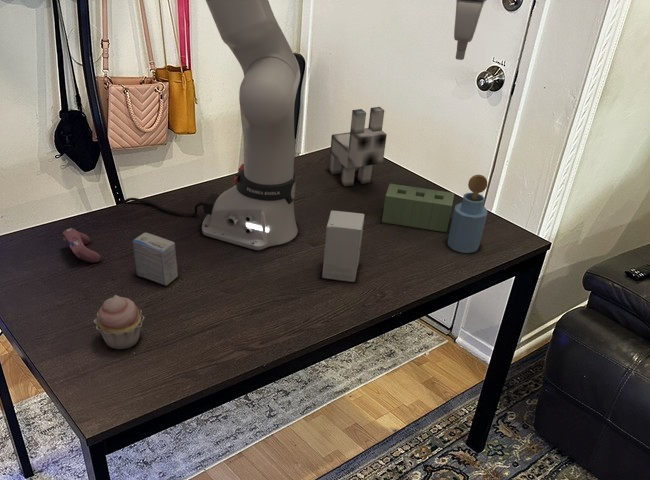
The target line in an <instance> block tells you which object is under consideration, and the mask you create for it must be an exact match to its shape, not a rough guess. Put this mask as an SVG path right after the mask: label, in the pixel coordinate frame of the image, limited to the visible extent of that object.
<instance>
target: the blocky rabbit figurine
mask: <svg viewBox="0 0 650 480" xmlns="http://www.w3.org/2000/svg"><path fill="white" fill-rule="evenodd" d="M351 111H352V112H351V119H350V128H349V129H350V131H348V132H343V133H333V134H331V139H330V151H329V162H328V164H329V165H328V172H330V174H331V175H339V174H340V184H341V185H343V187H351V186H354V183H355V176H356V174H355V173H356V172H358V173H357V181H358V182H359V183H360V184H369V183H371V179H372V171H373V166H374V165H380V164H384V157H385V150H386V142H387V135H388V133H386V132H384V131H383V125H384V117H385V109H384V108H382V107H381V106H374V107H370V111H369V117H368V118H369V119H368V126H367V127H365V126H366V119H367V112H366V110H364V109H362V108H359V109H352V110H351Z"/></svg>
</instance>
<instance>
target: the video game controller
mask: <svg viewBox="0 0 650 480" xmlns="http://www.w3.org/2000/svg"><path fill="white" fill-rule="evenodd" d="M62 235H63V241H64V243H66V244H67V243H69V248H70V249H71V252H72V253H73V254H74V255H75V256H76V257H77V258H78V259H80V260H81V261H82V260H83V261H86V262H89V263H98V262H100V261H101V255H100V254H99V253H98V252H97V251H94V250H91V248H88V247H87V246H85V245H88V244H89V243H90V242H91V240H90V239H91V238H90V237H89V236H88V235H87V234H85V233H84V232H80V231H78V230H77V229H75V228H72V227H70V228H67V229H65V230H64V231H62Z"/></svg>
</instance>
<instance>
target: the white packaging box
mask: <svg viewBox="0 0 650 480" xmlns="http://www.w3.org/2000/svg"><path fill="white" fill-rule="evenodd" d="M329 213H330V214H329V217H328V221H327V224H326V229H325V241H324V250H323V251H324V252H323V265H322V274H321V278H322V279H327V280H335V281H343V282H350V283H355V282H356V278H357V273H358V268H359V267H358V266H359V263H360V255H361V248H362V239H363V231H364V224H365V215H366V214H365V213H360V212H359V213H358V212H351V211H341V210H333V209H332V210H330V212H329Z"/></svg>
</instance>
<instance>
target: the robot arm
mask: <svg viewBox="0 0 650 480" xmlns="http://www.w3.org/2000/svg"><path fill="white" fill-rule="evenodd" d="M486 1H487V0H456V2H455V4H456V5H455V17H454V27H453V39H454V41H457V43H456V52H455V59H456V60H457V61H463V60H464V59H465V55H466V50H467V47H468V44H469V43H470V42H472V41H473V39H474V36H475V33H476V29H477V27H478V23H479V19H480V16H481V14H482V10H483V7H484V5H485V3H486ZM205 2H206V4H207V7H208V10H209V12H210V14H211V17H212V19H213V21H214V24H215V26H216V28H217V31H218V33H219V36H220V38H221V40H222V42H223V43H224V44H225V45H226V46H227V47H228V48H229V49H230V51H231V52H232V54H233V55H234V57H235V58H236V60H237V62H238V63H239V66H240V67H241V70H242V73H243V79H242V81H241V83H240V86H239V91H238V95H239V96H238V100H239V109H240V111H239V112H240V120H241V128H242V135H243V163H242V164H241V165H240V166H239V167H238V169H237V170H238V172H236V174H235V178H234V180H233V185H234V186H232V187H230V188H228V189H227V190H225V191H223V192H222V193H221V194H218V193H217V194H216V193H211V194H210V195H209V196H208V197H207V198H206V199H205V200H204V201H199V202H197V203H196V204H195V205H194V206H193V207H194V208H193V210H194V212H193V213H189V214H186V213H180V212H178V211H175V210H172V209H168V208H165V207H163V206H161V205H159V204H157V203H155V202H153V201H150V200H145V199H142V198H138V197H128V198H125V200H123V201H122V204H127V203H128V202H129V203H130V202H133V201H135V202H139V203H142V204H146V205H150V206H152V207H154V208H156V209H158V210H161V211H162V212H165V213H169V214H171V215H175V216H178V217H188V218H194V217H196V216H197V215H198V213H199V211H198V208H200V206H203V214H205V215H206V216H205V217H204V218H203V221H202V224H201V232H202V234H203V236H206V237H209V238H212V239H215V240H219V241H222V242H226V243H230V244H233V245H237V246H240V247H244V248H248V249H251V250H254V251H261V250H264V249H267V248H269V247H274V246H279V245H284V244H286V243H289V242H291V241H293V239H295V238H296V236H297V235H298V233H299V229H298V226H297V221H296V215H295V207H294V200H295V196H296V186H297V185H296V174H295V171H294V170H295V150H296V138H295V103H296V97H297V93H298V89H299V85H300V82H301V69H300V65H299V62H298V59H297V57H296V56H295V54H294V52H293V50H292V48H291V46H290V44H289V42H288V40H287V38H286V35H285V34H284V32H283V30H282V28H281V27H280V25H279V23H278V21H277V18H276V16H275V14H274V12H273V10H272V7H271V4H270V1H269V0H205ZM137 200H140V201H137Z"/></svg>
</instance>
